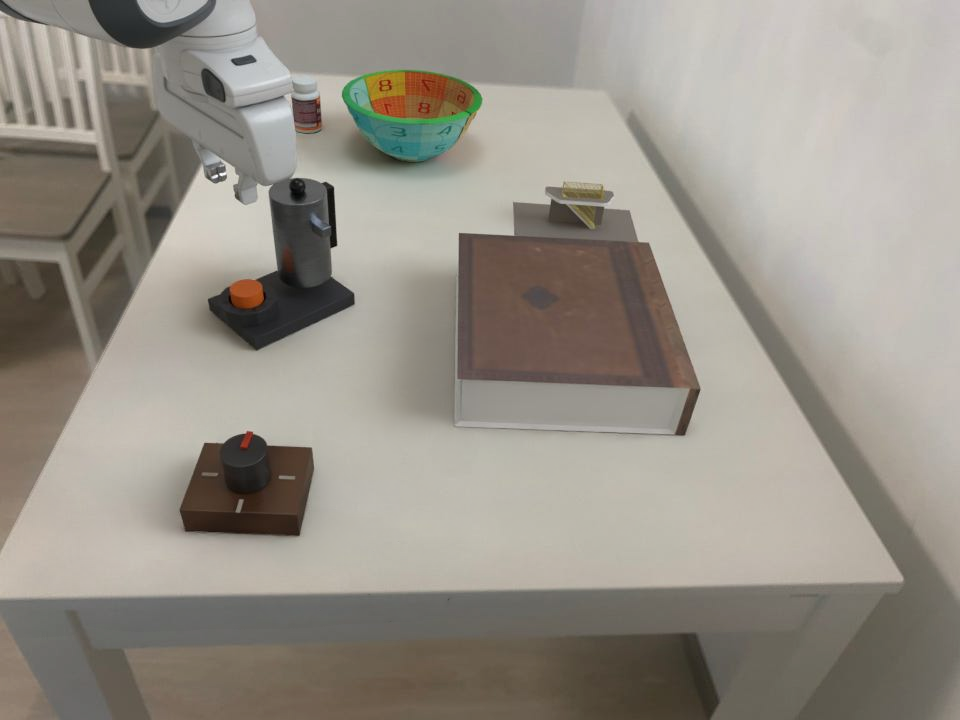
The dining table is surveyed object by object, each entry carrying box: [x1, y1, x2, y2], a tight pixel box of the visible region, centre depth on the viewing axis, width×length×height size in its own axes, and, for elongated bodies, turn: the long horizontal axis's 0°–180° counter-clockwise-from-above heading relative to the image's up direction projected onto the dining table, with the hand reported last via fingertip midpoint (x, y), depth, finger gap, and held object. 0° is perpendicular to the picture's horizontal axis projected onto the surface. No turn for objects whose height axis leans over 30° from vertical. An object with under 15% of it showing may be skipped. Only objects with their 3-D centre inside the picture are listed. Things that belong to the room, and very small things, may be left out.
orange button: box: [230, 278, 264, 309], centre depth 88 cm, size 4×4×2 cm
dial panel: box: [178, 442, 315, 537], centre depth 70 cm, size 10×8×3 cm
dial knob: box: [220, 430, 272, 493], centre depth 68 cm, size 4×4×4 cm
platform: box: [513, 180, 639, 242], centre depth 112 cm, size 12×18×7 cm, turn 89°
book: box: [453, 232, 702, 436], centre depth 89 cm, size 24×28×6 cm
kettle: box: [268, 177, 338, 288], centre depth 89 cm, size 8×8×12 cm
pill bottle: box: [290, 75, 323, 134], centre depth 131 cm, size 5×5×8 cm
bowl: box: [341, 69, 483, 163], centre depth 126 cm, size 22×22×10 cm
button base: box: [207, 270, 356, 351], centre depth 92 cm, size 15×10×4 cm
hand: (231, 190), depth 80 cm, fingers open, 4 cm apart
